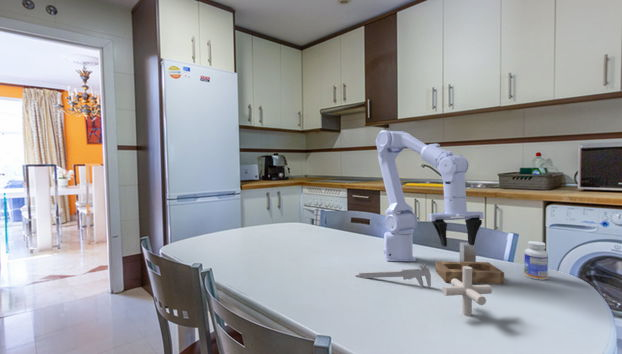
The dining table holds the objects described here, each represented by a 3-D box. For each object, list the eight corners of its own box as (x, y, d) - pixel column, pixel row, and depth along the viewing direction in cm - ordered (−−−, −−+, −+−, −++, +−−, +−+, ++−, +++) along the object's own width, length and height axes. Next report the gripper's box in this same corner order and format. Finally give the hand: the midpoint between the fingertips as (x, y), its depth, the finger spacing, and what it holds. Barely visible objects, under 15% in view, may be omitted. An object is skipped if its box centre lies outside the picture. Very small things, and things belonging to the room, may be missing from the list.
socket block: (445, 282, 85) (445, 271, 85) (435, 271, 94) (435, 261, 94) (504, 283, 84) (504, 272, 84) (488, 272, 93) (488, 262, 93)
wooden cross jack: (433, 304, 72) (433, 261, 71) (475, 302, 73) (475, 259, 72) (457, 327, 62) (457, 276, 61) (505, 324, 63) (505, 274, 62)
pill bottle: (524, 272, 92) (524, 239, 92) (547, 275, 89) (548, 241, 89) (523, 277, 88) (524, 243, 88) (548, 281, 85) (548, 246, 84)
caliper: (430, 288, 82) (430, 264, 82) (430, 289, 81) (430, 265, 81) (356, 276, 91) (356, 254, 91) (355, 277, 90) (354, 255, 90)
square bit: (463, 267, 97) (464, 245, 97) (459, 263, 101) (459, 242, 101) (475, 267, 97) (475, 245, 97) (470, 264, 100) (471, 242, 100)
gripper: (434, 199, 86) (437, 249, 85) (488, 196, 85) (491, 246, 85) (425, 198, 93) (428, 244, 92) (475, 195, 92) (478, 242, 92)
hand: (457, 245), depth 89 cm, fingers open, 7 cm apart
